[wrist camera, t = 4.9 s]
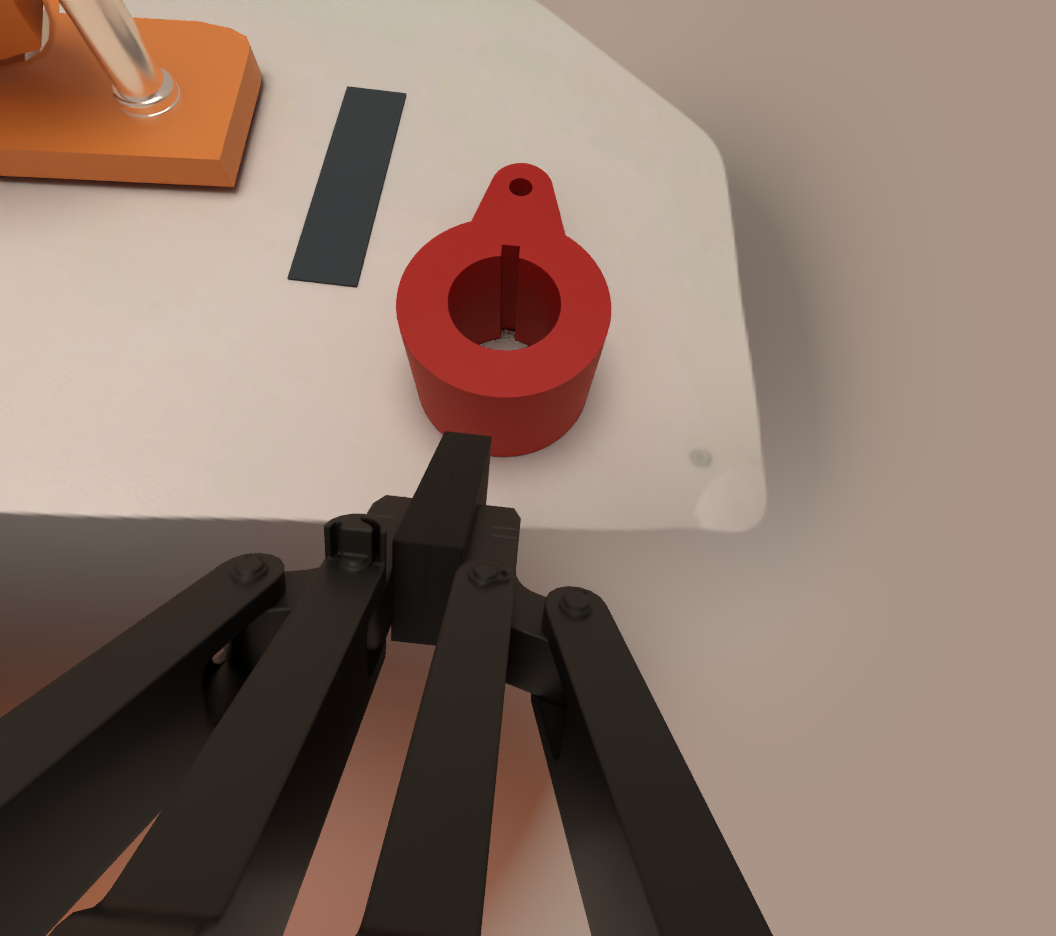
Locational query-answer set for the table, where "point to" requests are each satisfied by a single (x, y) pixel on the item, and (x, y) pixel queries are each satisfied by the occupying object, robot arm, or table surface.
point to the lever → (505, 318)
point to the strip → (348, 189)
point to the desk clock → (121, 95)
